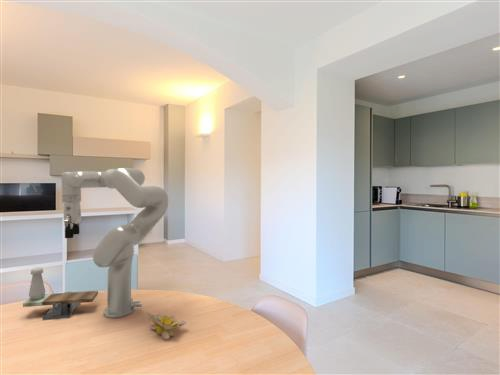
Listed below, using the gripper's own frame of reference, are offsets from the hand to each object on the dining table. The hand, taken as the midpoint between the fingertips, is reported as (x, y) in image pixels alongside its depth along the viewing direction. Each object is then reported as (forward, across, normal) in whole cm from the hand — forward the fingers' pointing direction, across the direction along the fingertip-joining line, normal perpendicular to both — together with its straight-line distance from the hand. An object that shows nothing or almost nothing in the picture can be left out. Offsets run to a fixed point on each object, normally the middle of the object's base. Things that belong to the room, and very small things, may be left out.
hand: (72, 236), depth 136 cm
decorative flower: (+33, -37, -41) cm, 64 cm away
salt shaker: (+25, -7, +12) cm, 29 cm away
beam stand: (+32, -7, +3) cm, 33 cm away
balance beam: (+27, -7, +2) cm, 28 cm away
